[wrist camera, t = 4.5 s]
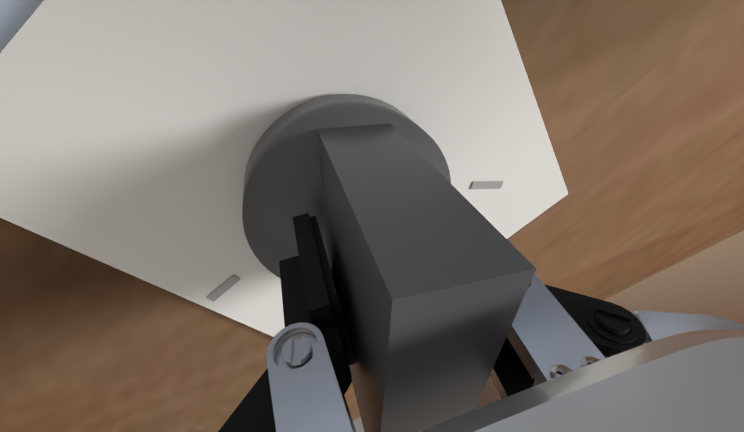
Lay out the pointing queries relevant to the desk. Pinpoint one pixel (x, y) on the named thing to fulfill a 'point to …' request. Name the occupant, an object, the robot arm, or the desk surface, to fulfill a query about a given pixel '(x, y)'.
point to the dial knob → (389, 254)
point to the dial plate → (243, 122)
